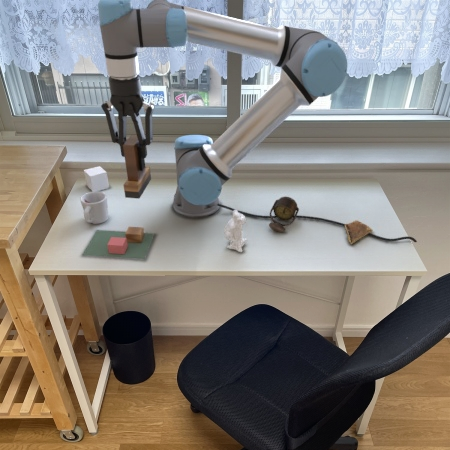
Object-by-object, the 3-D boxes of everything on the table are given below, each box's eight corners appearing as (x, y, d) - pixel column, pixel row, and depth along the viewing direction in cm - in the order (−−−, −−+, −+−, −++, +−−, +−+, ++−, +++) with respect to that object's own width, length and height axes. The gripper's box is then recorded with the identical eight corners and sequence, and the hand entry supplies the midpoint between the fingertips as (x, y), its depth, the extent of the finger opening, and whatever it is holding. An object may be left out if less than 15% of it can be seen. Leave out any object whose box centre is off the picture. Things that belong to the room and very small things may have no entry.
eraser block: (128, 246, 128) (126, 237, 126) (124, 254, 125) (122, 245, 123) (112, 245, 128) (111, 236, 126) (108, 253, 125) (107, 244, 123)
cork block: (144, 235, 132) (143, 227, 130) (141, 243, 129) (140, 234, 127) (130, 235, 133) (128, 226, 131) (126, 242, 130) (125, 233, 128)
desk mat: (154, 234, 133) (154, 233, 133) (144, 260, 124) (144, 258, 123) (97, 231, 135) (97, 230, 134) (82, 256, 125) (82, 254, 125)
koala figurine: (248, 254, 126) (250, 217, 118) (225, 255, 126) (225, 218, 118) (245, 238, 132) (247, 202, 124) (223, 238, 132) (223, 203, 124)
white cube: (109, 188, 156) (106, 172, 152) (93, 192, 154) (90, 176, 150) (102, 181, 160) (99, 165, 156) (86, 185, 157) (83, 170, 153)
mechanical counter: (310, 205, 136) (286, 188, 140) (286, 217, 129) (261, 199, 132) (302, 224, 141) (279, 207, 145) (278, 236, 134) (254, 218, 137)
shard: (350, 246, 129) (351, 241, 128) (330, 235, 134) (331, 230, 133) (372, 233, 135) (374, 228, 133) (352, 223, 139) (354, 218, 138)
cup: (101, 232, 134) (96, 209, 129) (77, 229, 135) (71, 206, 130) (114, 214, 142) (110, 192, 137) (91, 212, 143) (86, 189, 138)
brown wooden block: (139, 198, 121) (132, 149, 111) (125, 197, 121) (117, 148, 112) (151, 179, 129) (146, 132, 120) (138, 178, 130) (131, 131, 121)
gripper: (160, 73, 108) (167, 164, 123) (97, 70, 109) (112, 160, 125) (152, 81, 102) (161, 176, 118) (86, 78, 104) (103, 171, 119)
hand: (136, 167), depth 121 cm, fingers closed on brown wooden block, 3 cm apart
